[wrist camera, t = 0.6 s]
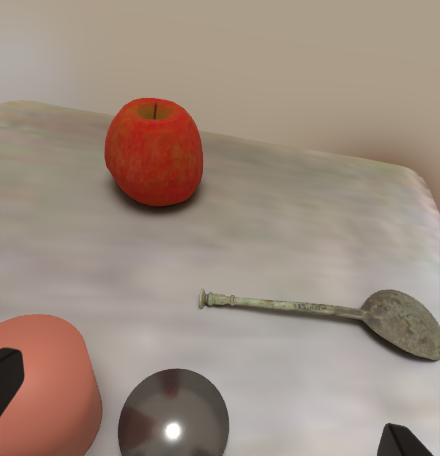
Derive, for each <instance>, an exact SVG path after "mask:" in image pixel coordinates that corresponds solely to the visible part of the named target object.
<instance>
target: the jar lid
mask: <svg viewBox="0 0 440 456" xmlns="http://www.w3.org/2000/svg"><path fill="white" fill-rule="evenodd" d="M228 433H229V418H228V412H227V408H226V405H225V402H224V400H223V398H222V396H221V394H220V392H219V391H218V389H217V388H216V387H215V386H214V385H213V384H212V383H211V382H210V381H209V380H208V379H206V378H205V377H204V376H202V375H200V374H198V373H196V372H193V371H190V370H186V369H168V370H163V371H160V372H157V373H155V374H153V375H151V376H149V377H147V378H146V379H145V380H143V381H142V382H141V383H140V384H139V385H138V386H137V387H136V388H135V389H134V390H133V391H132V392H131V394H130V395H129V397H128V398H127V400H126V402H125V404H124V406H123V409H122V411H121V415H120V419H119V425H118V439H119V446H120V450H121V454H122V456H222V454H223V452H224V449H225V446H226V443H227V439H228Z"/></svg>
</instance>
